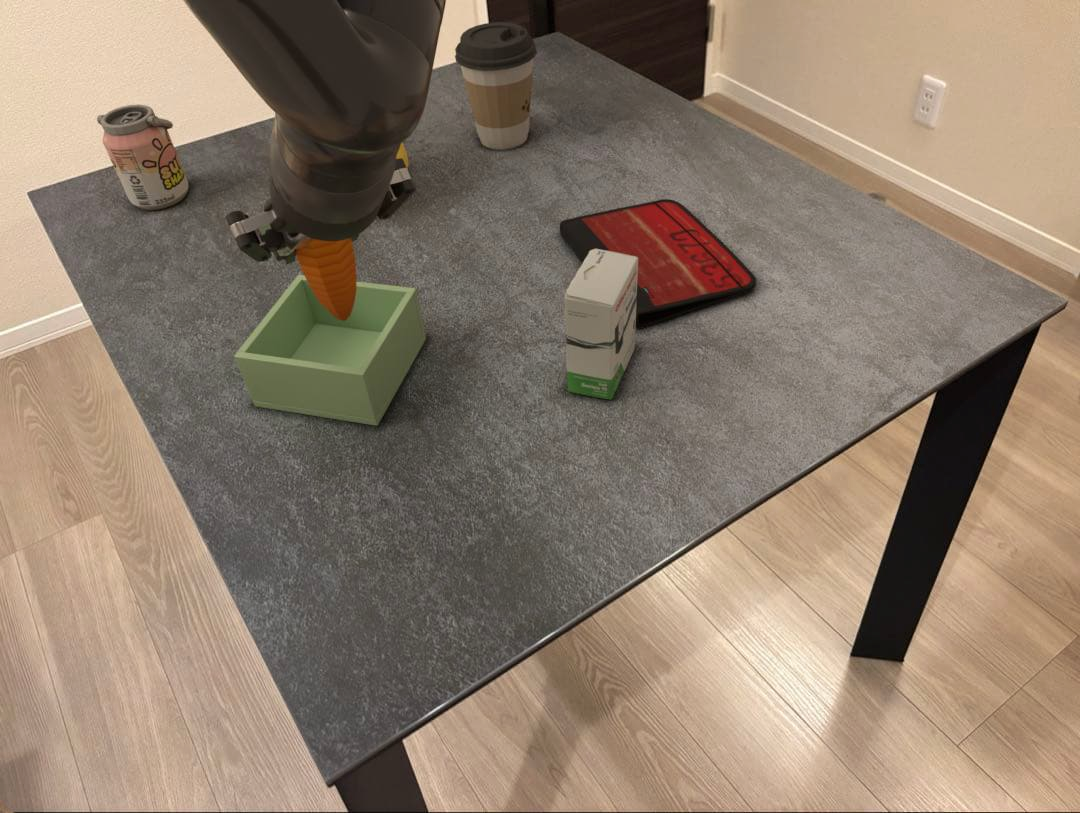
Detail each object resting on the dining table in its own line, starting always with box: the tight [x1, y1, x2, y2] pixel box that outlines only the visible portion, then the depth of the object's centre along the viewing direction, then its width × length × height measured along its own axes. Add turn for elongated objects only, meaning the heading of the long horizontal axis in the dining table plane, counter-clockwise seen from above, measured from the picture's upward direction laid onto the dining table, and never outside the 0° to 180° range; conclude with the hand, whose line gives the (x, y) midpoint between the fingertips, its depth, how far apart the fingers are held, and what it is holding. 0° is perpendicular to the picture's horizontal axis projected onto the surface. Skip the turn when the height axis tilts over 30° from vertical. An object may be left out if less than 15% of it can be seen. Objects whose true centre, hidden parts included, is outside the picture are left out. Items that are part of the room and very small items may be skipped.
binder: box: [559, 198, 757, 330], centre depth 97 cm, size 16×2×21 cm
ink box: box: [563, 249, 638, 400], centre depth 81 cm, size 9×5×12 cm, turn 159°
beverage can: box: [96, 104, 189, 211], centre depth 112 cm, size 9×8×12 cm
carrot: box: [296, 238, 357, 321], centre depth 67 cm, size 5×5×15 cm
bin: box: [233, 274, 427, 427], centre depth 85 cm, size 14×14×7 cm
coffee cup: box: [454, 21, 538, 151], centre depth 117 cm, size 11×11×15 cm
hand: (316, 240), depth 69 cm, fingers closed on carrot, 5 cm apart
